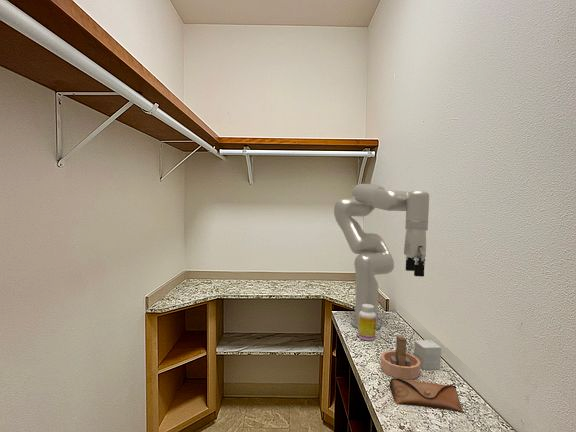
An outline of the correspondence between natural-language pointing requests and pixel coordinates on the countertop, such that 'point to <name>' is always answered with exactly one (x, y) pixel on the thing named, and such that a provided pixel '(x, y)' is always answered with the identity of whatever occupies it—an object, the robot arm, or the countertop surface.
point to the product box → (427, 354)
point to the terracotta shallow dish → (400, 372)
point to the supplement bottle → (367, 323)
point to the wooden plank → (400, 350)
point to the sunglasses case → (425, 394)
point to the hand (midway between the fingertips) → (414, 273)
